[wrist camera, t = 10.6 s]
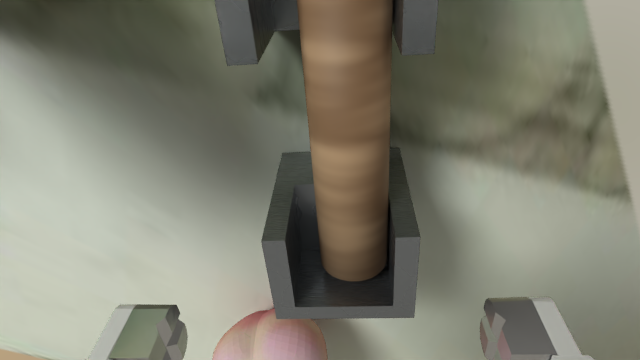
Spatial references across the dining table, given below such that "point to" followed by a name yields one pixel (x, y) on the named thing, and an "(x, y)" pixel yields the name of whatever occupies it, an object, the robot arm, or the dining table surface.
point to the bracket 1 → (282, 14)
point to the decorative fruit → (271, 339)
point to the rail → (349, 129)
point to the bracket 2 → (305, 260)
